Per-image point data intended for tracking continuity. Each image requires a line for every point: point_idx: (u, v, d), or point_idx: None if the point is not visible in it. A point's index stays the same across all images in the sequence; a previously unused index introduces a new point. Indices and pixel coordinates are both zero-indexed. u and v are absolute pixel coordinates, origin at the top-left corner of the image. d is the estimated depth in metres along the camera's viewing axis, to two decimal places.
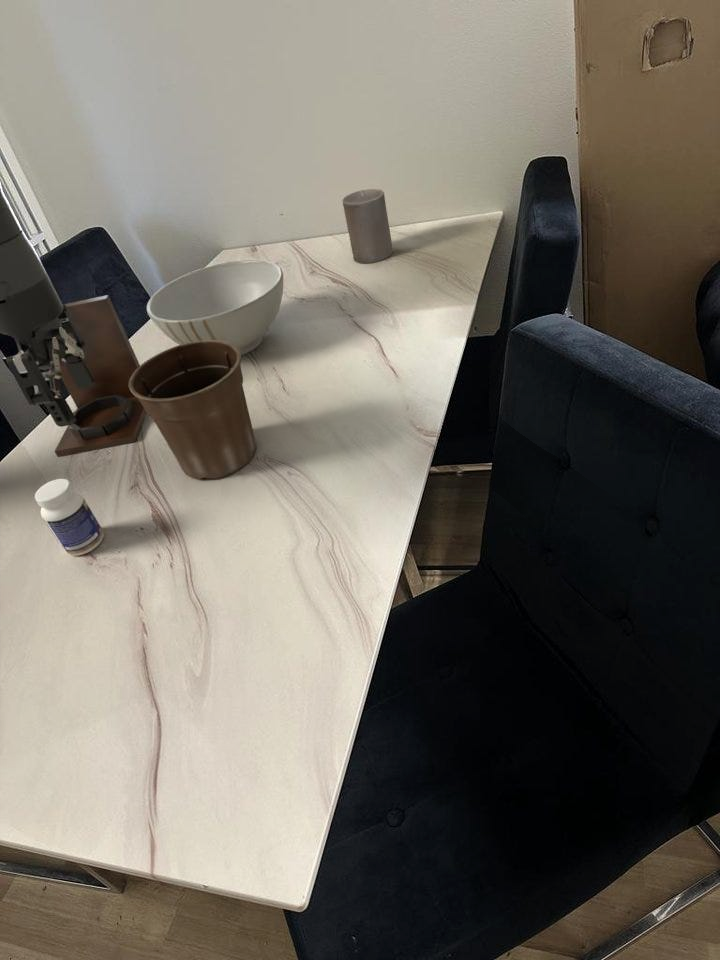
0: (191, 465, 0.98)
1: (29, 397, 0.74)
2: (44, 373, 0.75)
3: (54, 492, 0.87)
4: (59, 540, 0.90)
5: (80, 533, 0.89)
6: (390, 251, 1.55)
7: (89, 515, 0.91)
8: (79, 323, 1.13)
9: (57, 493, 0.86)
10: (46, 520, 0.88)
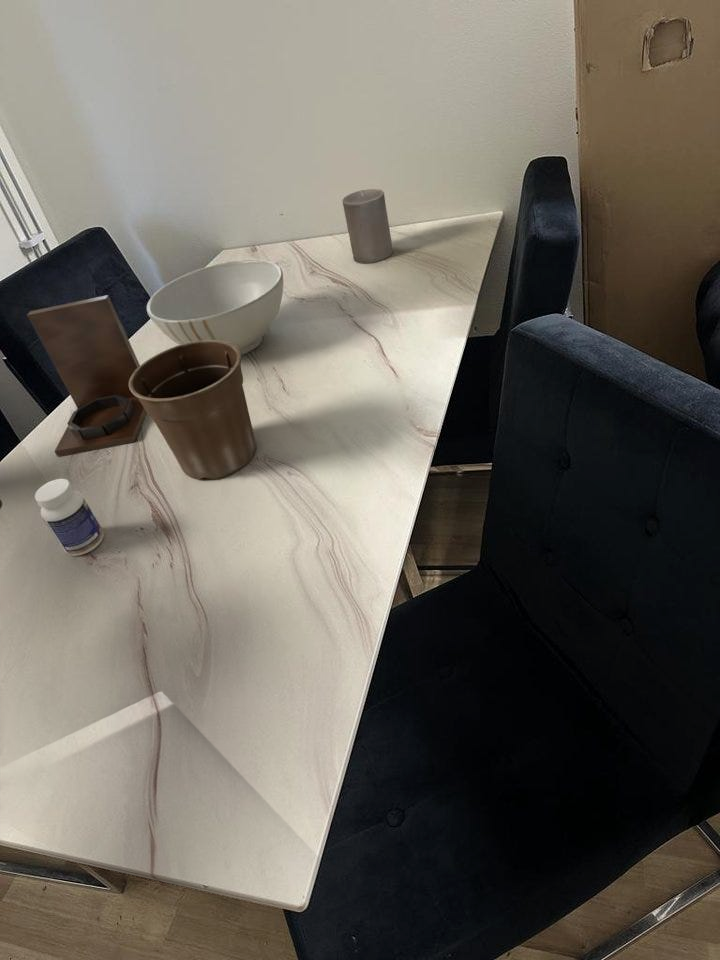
0: (191, 465, 0.98)
1: None
2: None
3: (54, 492, 0.87)
4: (59, 540, 0.90)
5: (80, 533, 0.89)
6: (390, 251, 1.55)
7: (89, 515, 0.91)
8: (79, 323, 1.13)
9: (57, 493, 0.86)
10: (46, 520, 0.88)
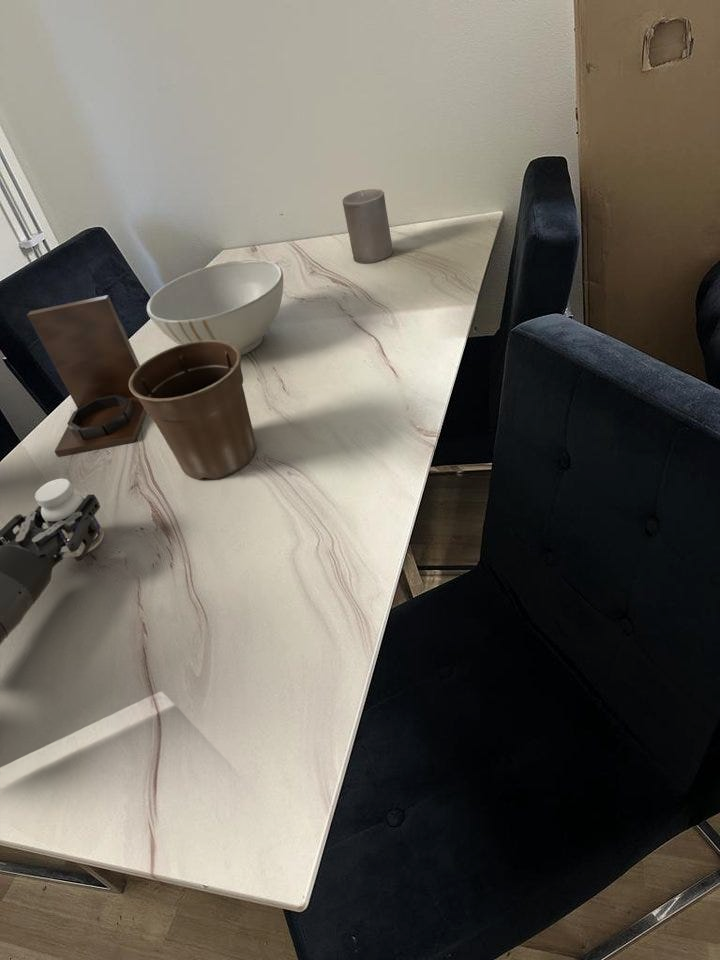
0: (191, 465, 0.98)
1: None
2: None
3: (54, 492, 0.87)
4: None
5: None
6: (390, 251, 1.55)
7: None
8: (79, 323, 1.13)
9: (57, 493, 0.86)
10: (46, 520, 0.88)
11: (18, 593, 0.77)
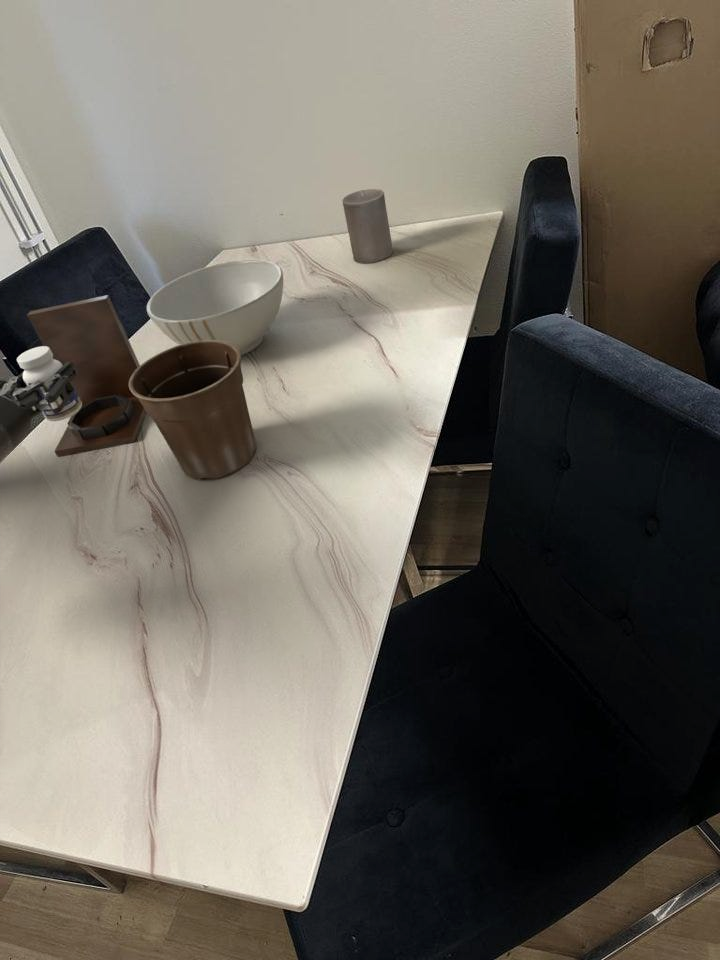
0: (191, 465, 0.98)
1: None
2: None
3: (35, 355, 0.93)
4: None
5: None
6: (390, 251, 1.55)
7: None
8: (79, 323, 1.13)
9: (37, 355, 0.93)
10: (27, 382, 0.94)
11: None
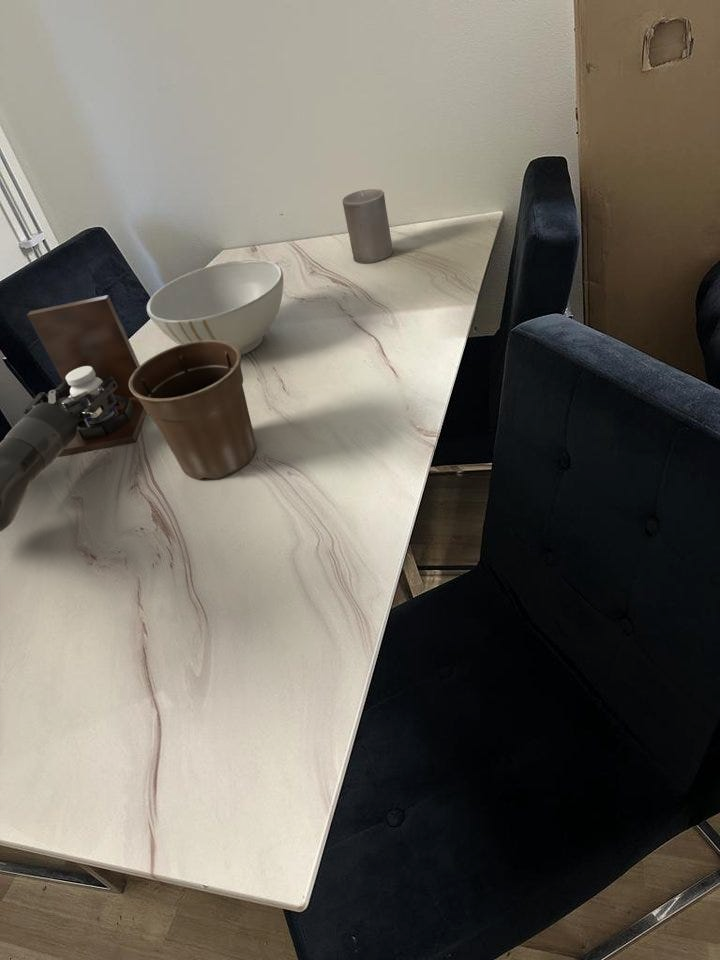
0: (191, 465, 0.98)
1: None
2: None
3: (80, 374, 1.11)
4: None
5: None
6: (390, 251, 1.55)
7: None
8: (79, 323, 1.13)
9: (83, 374, 1.10)
10: None
11: (53, 435, 1.01)
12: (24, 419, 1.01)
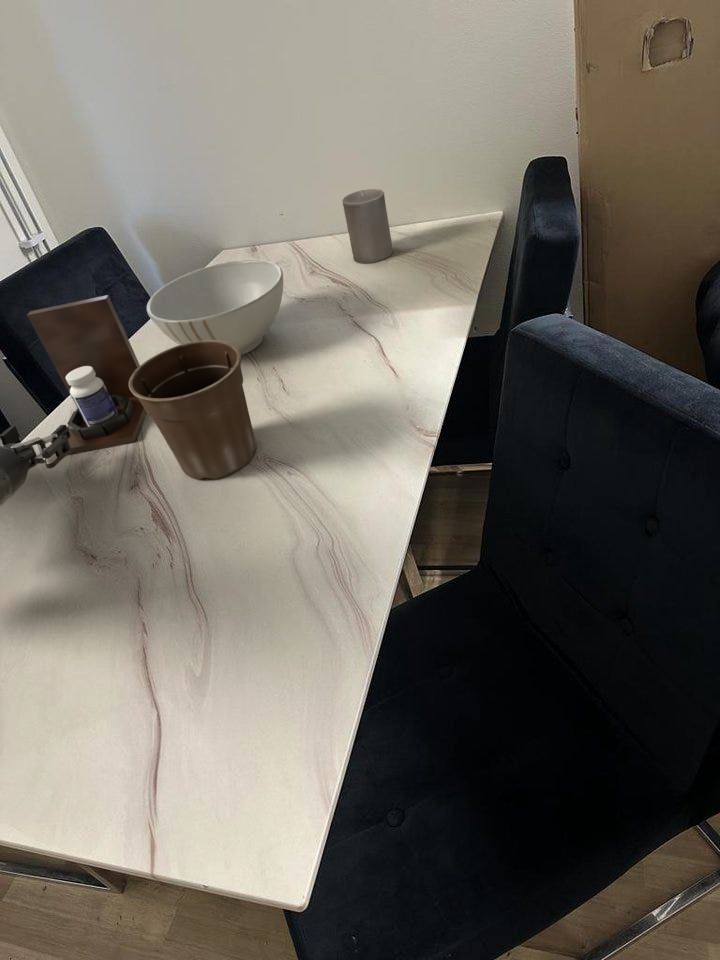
0: (191, 465, 0.98)
1: None
2: None
3: (81, 374, 1.11)
4: (84, 415, 1.14)
5: (101, 409, 1.13)
6: (390, 251, 1.55)
7: (108, 396, 1.14)
8: (79, 323, 1.13)
9: (83, 374, 1.10)
10: (74, 397, 1.12)
11: (3, 479, 0.91)
12: None
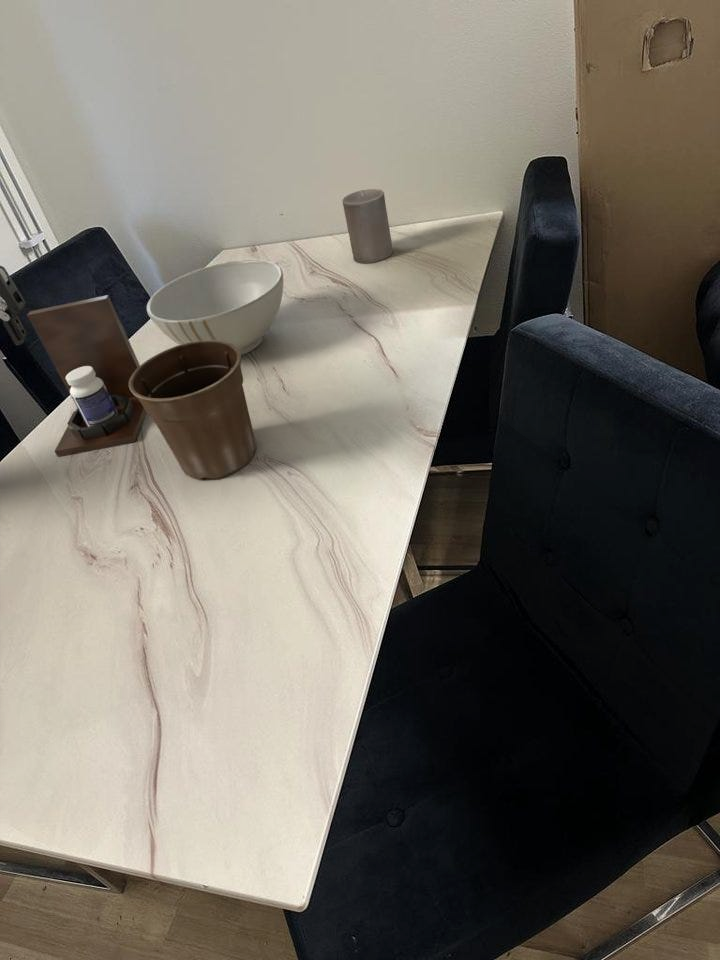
0: (191, 465, 0.98)
1: None
2: None
3: (81, 374, 1.11)
4: (84, 415, 1.14)
5: (101, 409, 1.13)
6: (390, 251, 1.55)
7: (108, 396, 1.14)
8: (79, 323, 1.13)
9: (83, 374, 1.10)
10: (74, 397, 1.12)
11: None
12: None
